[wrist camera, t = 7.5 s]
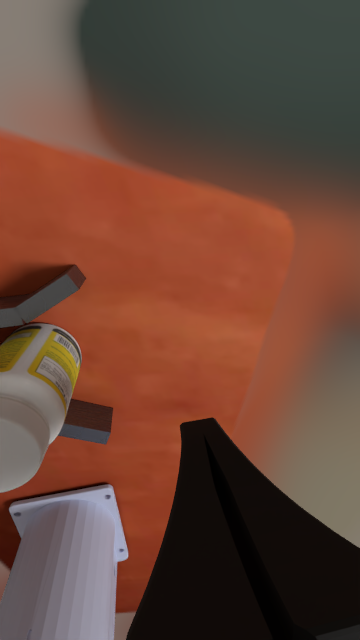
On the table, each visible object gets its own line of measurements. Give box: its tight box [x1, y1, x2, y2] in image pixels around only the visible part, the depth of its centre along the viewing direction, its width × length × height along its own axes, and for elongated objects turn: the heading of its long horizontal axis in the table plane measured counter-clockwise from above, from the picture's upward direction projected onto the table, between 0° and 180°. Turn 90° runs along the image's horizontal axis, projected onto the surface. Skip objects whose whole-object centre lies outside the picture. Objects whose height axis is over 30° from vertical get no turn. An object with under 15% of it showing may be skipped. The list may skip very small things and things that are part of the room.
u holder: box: [0, 265, 113, 444], centre depth 18 cm, size 12×9×2 cm
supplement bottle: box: [0, 323, 82, 493], centre depth 15 cm, size 5×5×8 cm
